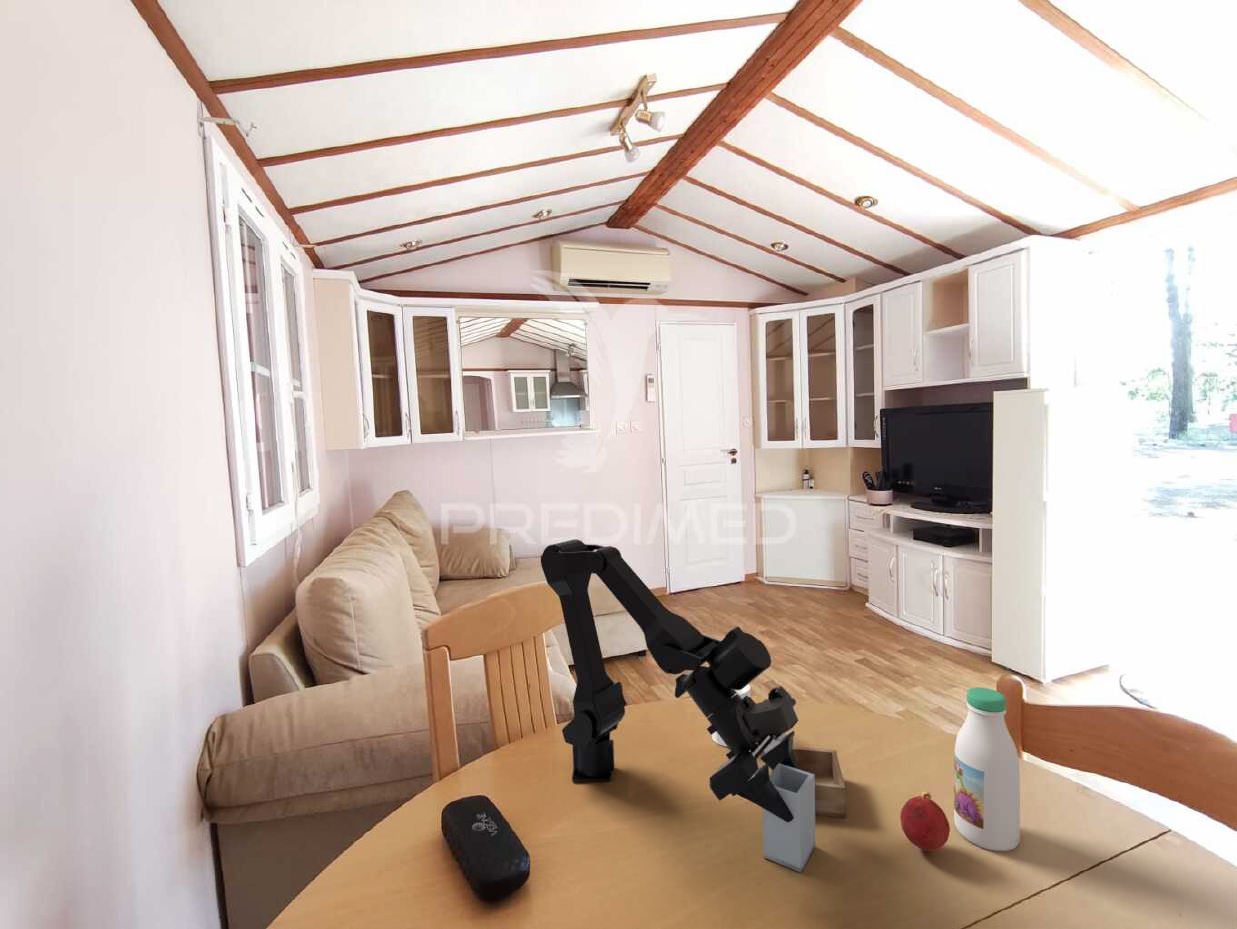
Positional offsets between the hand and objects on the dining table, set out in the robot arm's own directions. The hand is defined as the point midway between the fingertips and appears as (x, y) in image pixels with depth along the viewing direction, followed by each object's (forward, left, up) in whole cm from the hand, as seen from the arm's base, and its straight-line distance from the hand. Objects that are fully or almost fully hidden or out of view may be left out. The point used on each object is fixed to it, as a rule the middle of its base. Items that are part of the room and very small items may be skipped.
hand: (799, 807), depth 78 cm
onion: (+17, +1, -7) cm, 18 cm away
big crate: (+5, +14, -7) cm, 16 cm away
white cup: (-4, +31, -7) cm, 32 cm away
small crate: (-1, +1, -7) cm, 7 cm away
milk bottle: (+27, +4, -7) cm, 28 cm away
